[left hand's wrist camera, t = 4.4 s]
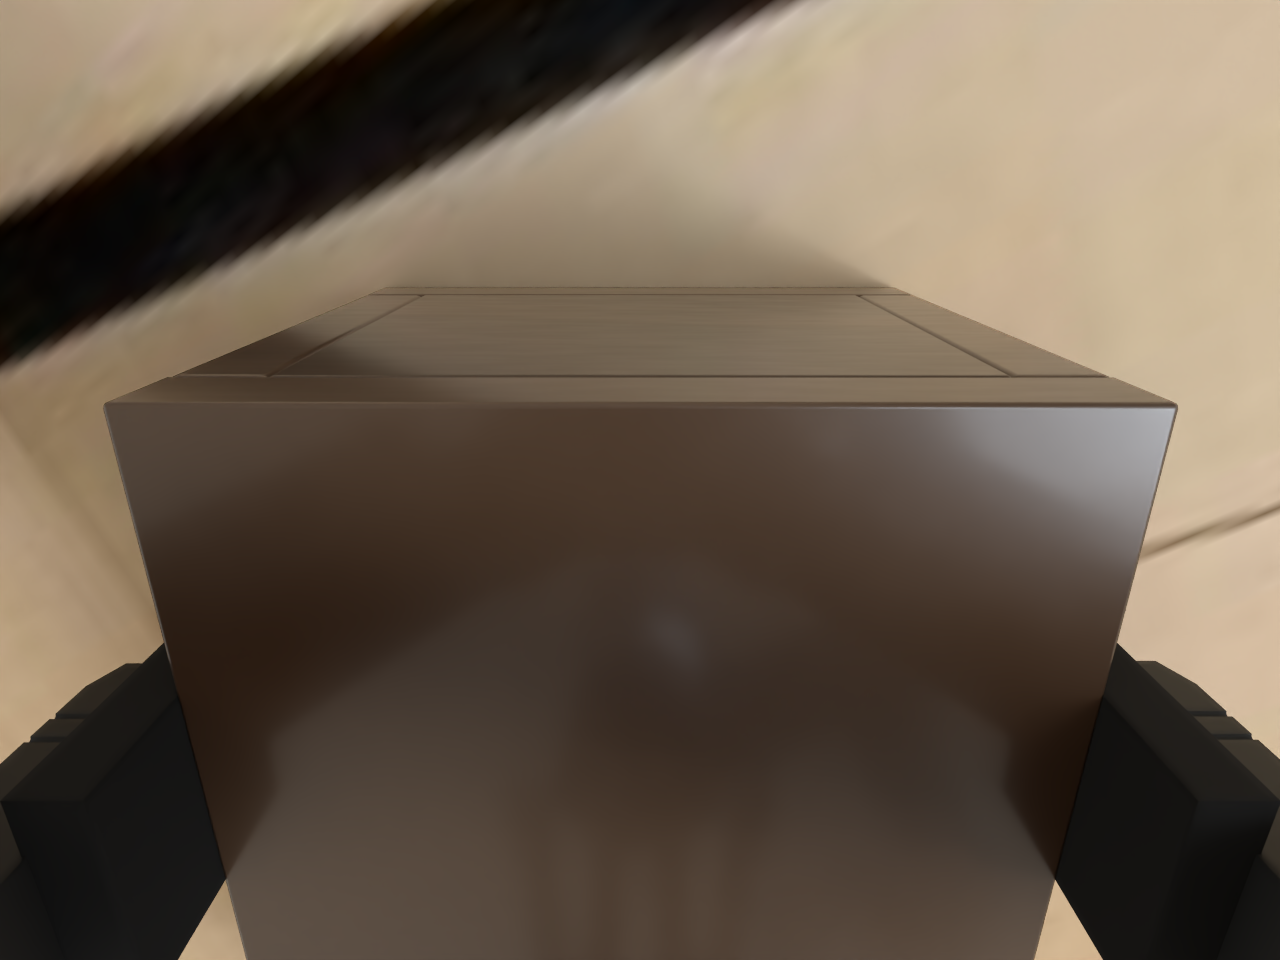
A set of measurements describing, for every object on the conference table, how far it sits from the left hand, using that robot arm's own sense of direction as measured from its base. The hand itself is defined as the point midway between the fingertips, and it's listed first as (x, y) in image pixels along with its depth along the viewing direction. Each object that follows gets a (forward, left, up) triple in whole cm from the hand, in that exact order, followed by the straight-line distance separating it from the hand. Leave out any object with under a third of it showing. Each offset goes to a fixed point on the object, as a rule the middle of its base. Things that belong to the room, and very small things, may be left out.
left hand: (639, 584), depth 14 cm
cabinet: (+5, +1, -4) cm, 6 cm away
